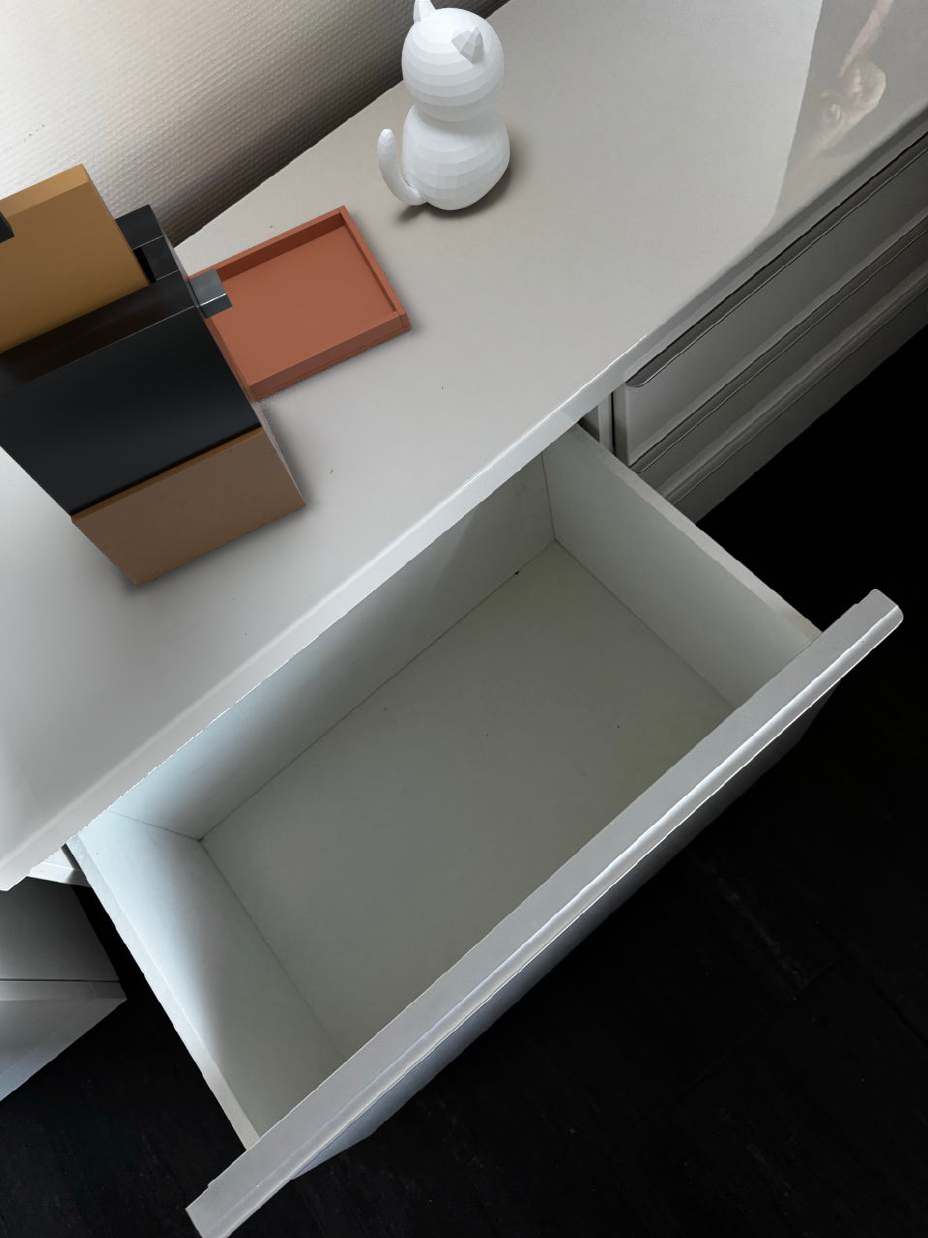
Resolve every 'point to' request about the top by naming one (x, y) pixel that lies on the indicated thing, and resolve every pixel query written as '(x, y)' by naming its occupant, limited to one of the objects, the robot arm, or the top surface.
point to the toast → (60, 257)
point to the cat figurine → (448, 111)
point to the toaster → (146, 420)
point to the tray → (305, 303)
